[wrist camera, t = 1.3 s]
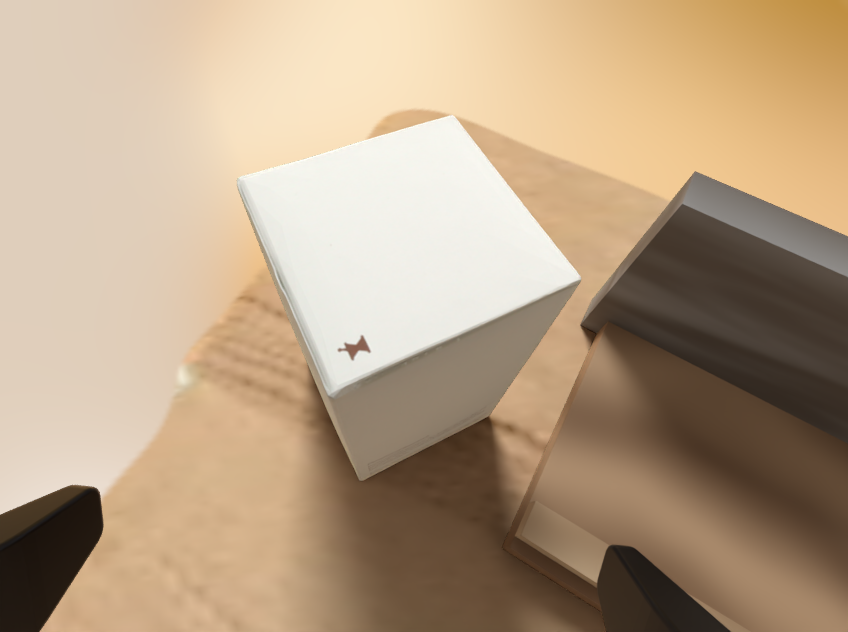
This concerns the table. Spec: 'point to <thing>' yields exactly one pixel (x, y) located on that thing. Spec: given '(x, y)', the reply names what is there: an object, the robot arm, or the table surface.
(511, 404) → the table surface
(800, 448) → the ledge
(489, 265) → the supplement box
